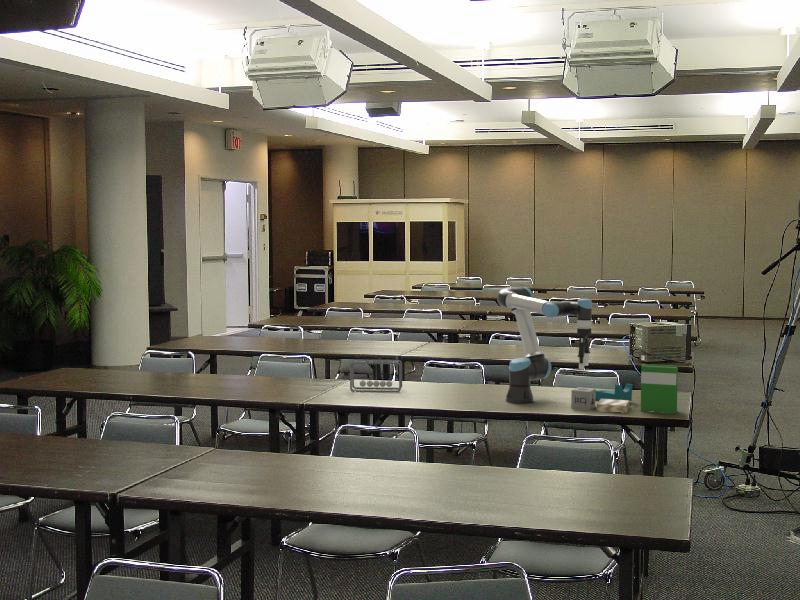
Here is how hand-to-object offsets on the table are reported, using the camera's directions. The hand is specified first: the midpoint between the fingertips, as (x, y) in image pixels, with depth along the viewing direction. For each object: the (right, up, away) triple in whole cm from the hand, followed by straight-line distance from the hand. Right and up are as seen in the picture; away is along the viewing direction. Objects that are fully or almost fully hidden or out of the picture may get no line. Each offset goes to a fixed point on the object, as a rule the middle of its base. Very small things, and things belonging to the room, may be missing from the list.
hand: (583, 367), depth 497 cm
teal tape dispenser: (+19, -20, +19) cm, 34 cm away
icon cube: (0, -22, +1) cm, 22 cm away
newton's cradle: (-112, -18, +53) cm, 125 cm away
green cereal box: (+38, -23, -9) cm, 45 cm away
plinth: (+15, -22, -4) cm, 27 cm away
